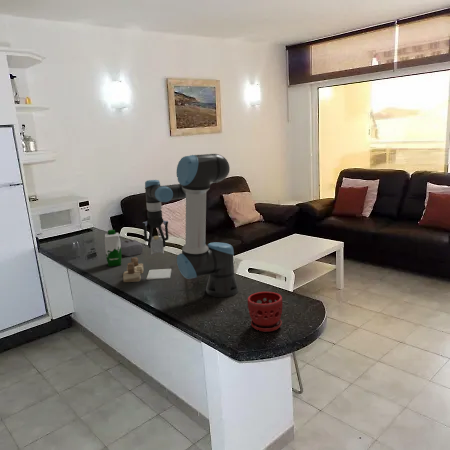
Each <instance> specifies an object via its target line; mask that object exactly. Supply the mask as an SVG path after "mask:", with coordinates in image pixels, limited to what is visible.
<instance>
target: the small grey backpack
mask: <svg viewBox="0 0 450 450" xmlns="http://www.w3.org/2000/svg"><path fill="white" fill-rule="evenodd" d="M120 243H121V254H122V256H125V257H134V256H138V255H140V254H142V252H143V244H142V243H141V242H139V241H138V240H135V239H125V240H124V239H123V240H120Z"/></svg>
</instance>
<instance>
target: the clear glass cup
mask: <svg viewBox="0 0 450 450" xmlns="http://www.w3.org/2000/svg"><path fill="white" fill-rule="evenodd" d="M161 241H162V237H161V235H160V236H159V235H154V236H152V237H151V244H152V253H153V254H155V253H162V244H161Z"/></svg>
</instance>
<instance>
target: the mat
mask: <svg viewBox="0 0 450 450" xmlns="http://www.w3.org/2000/svg"><path fill="white" fill-rule="evenodd" d="M171 274H172V268H162V269H149V271H148V274H147V276H146V280H147V281H149V280H150V281H151V280H166V279H167V280H168V279H171Z"/></svg>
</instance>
